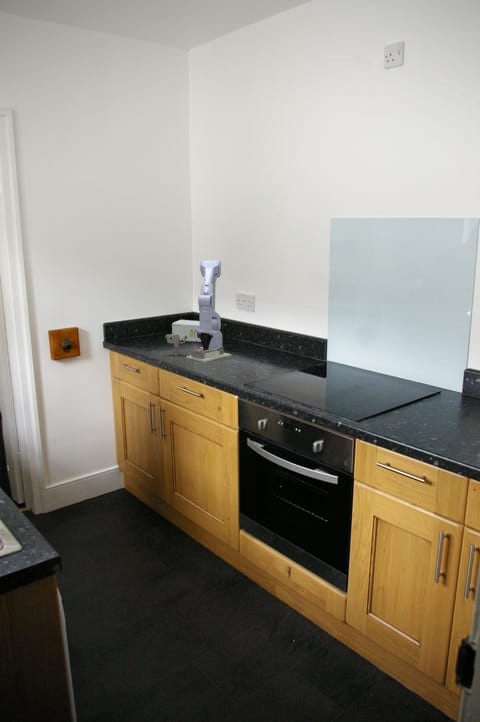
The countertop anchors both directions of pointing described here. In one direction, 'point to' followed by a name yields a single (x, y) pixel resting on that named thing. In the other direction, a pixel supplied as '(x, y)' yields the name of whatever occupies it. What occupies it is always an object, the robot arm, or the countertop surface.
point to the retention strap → (208, 349)
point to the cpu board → (208, 355)
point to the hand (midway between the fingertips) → (205, 349)
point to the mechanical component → (175, 341)
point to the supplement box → (186, 329)
